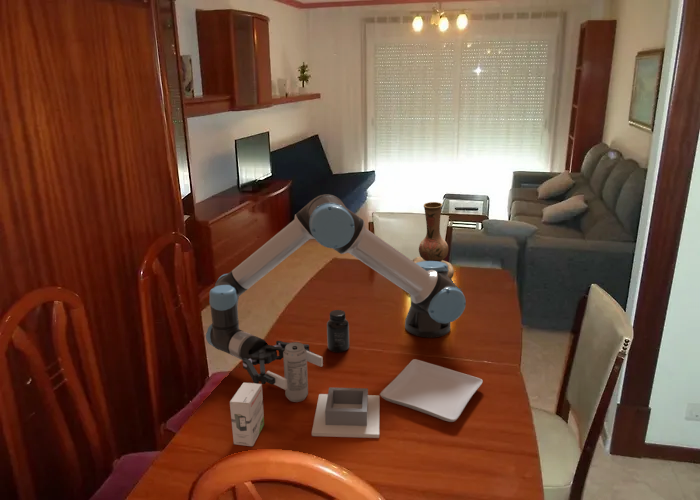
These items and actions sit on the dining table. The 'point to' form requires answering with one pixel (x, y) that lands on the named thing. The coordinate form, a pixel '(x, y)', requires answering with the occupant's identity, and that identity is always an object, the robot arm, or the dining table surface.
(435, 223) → the vase
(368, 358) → the dining table surface
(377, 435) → the socket board
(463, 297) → the robot arm
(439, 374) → the salad plate
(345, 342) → the supplement bottle
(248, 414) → the ink box
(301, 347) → the energy drink can
